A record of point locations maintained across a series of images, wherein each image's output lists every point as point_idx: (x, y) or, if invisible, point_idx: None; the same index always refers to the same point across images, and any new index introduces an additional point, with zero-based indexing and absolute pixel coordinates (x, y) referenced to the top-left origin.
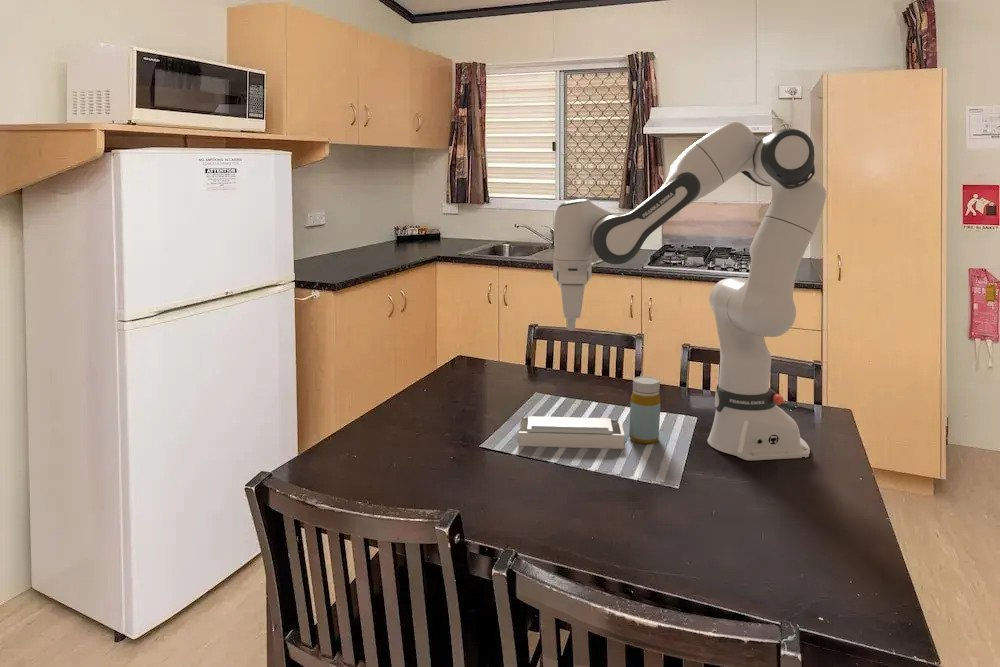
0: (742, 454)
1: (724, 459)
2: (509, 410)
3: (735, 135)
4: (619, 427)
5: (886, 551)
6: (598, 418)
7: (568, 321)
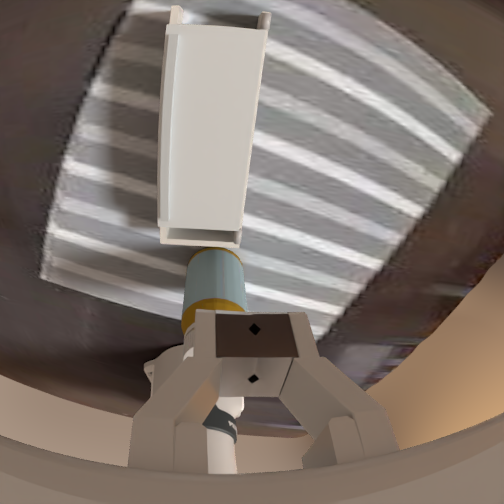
0: (147, 366)
1: (144, 346)
2: (409, 23)
3: None
4: (210, 239)
5: (8, 376)
6: (238, 205)
7: (174, 378)
